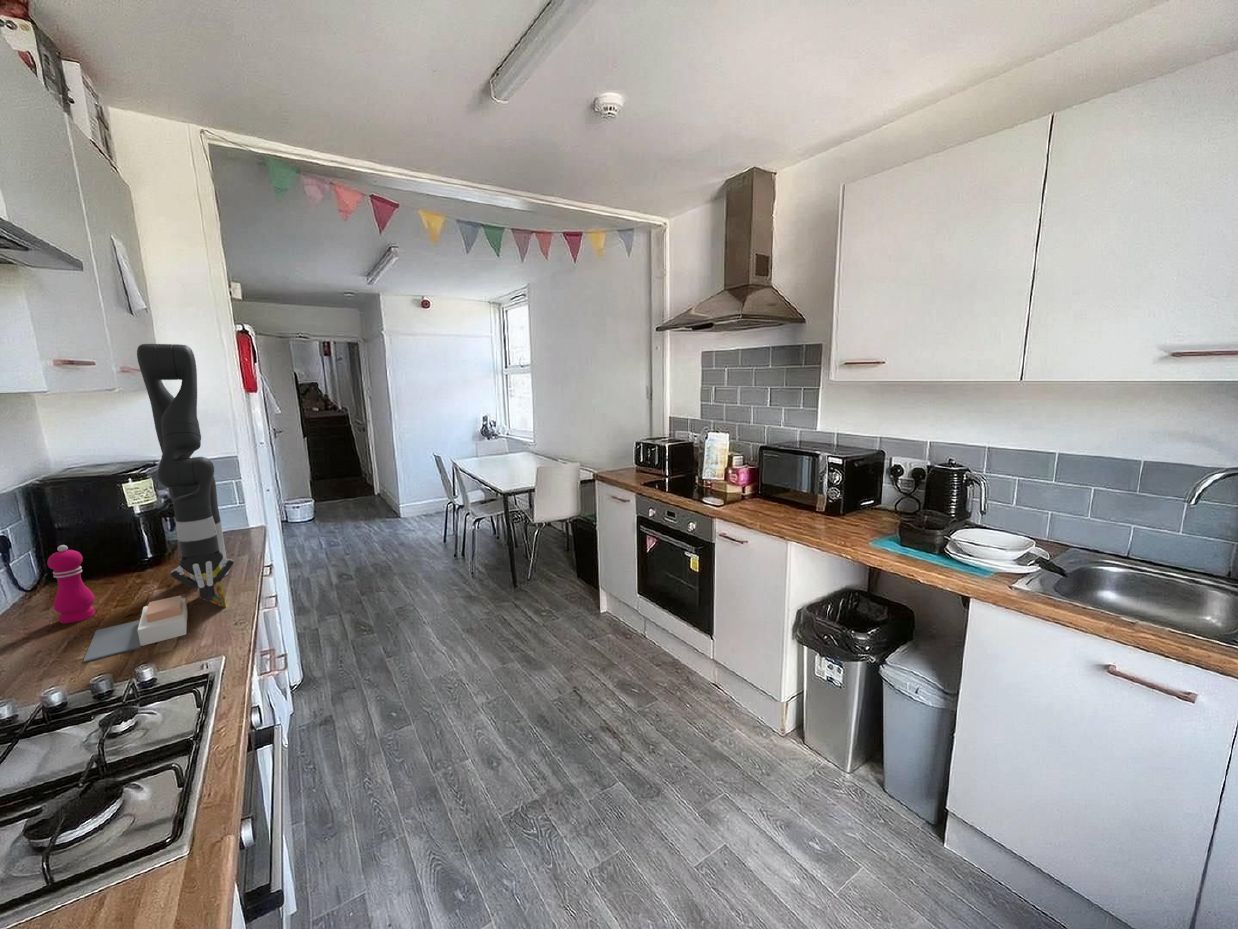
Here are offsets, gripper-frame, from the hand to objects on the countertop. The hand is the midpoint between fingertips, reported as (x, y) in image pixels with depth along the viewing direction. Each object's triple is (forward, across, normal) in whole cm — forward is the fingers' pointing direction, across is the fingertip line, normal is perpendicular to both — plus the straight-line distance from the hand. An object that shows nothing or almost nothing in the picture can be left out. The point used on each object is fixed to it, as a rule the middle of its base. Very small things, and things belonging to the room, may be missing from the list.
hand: (208, 599), depth 127 cm
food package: (+5, 0, -11) cm, 12 cm away
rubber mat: (+5, +17, 0) cm, 18 cm away
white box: (+5, +9, 0) cm, 10 cm away
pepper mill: (+5, +27, -23) cm, 36 cm away
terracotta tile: (+1, +8, 0) cm, 8 cm away
